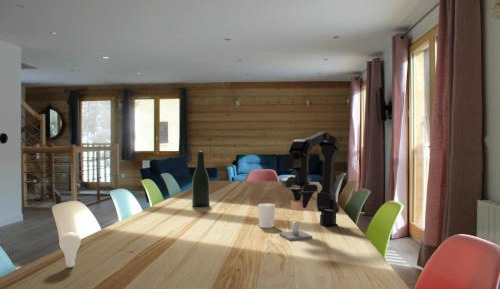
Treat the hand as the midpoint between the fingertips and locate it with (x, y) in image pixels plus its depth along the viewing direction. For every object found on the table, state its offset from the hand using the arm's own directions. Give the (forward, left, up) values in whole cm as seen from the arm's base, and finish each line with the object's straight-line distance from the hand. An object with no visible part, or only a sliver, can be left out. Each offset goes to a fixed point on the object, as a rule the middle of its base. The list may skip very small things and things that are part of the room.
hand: (300, 206), depth 166 cm
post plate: (+4, +3, -12) cm, 12 cm away
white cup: (+8, -19, -12) cm, 24 cm away
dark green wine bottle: (+24, -86, -12) cm, 90 cm away
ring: (0, 0, -1) cm, 1 cm away
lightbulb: (+87, +14, -12) cm, 89 cm away
